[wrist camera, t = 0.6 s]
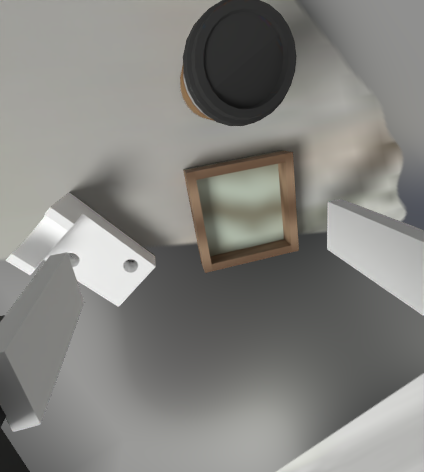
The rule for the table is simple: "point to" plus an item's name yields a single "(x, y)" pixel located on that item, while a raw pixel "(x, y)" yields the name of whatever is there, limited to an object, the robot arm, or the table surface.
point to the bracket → (86, 249)
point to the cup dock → (243, 209)
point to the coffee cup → (237, 62)
